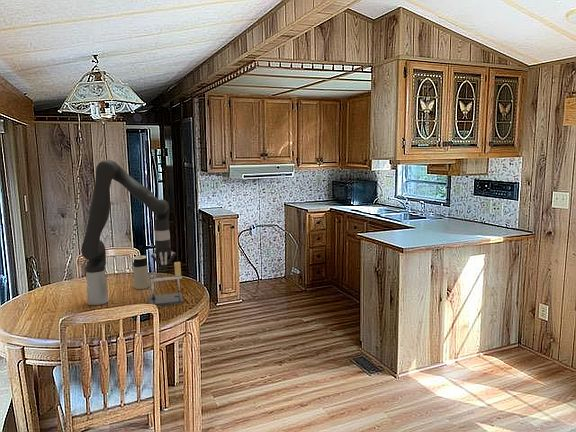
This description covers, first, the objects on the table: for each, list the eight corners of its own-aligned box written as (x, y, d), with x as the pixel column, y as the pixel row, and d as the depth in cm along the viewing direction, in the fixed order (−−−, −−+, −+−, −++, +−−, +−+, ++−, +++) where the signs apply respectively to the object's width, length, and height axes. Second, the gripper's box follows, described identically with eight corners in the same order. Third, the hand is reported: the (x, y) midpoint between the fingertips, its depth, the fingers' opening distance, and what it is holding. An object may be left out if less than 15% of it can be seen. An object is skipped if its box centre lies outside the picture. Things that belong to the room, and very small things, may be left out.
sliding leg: (176, 297, 233) (174, 264, 230) (176, 294, 236) (174, 262, 234) (182, 296, 233) (180, 263, 231) (182, 294, 237) (180, 261, 235)
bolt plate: (148, 307, 224) (146, 279, 222) (149, 298, 238) (147, 272, 236) (183, 303, 229) (182, 276, 227) (182, 295, 242) (181, 269, 240)
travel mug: (141, 290, 253) (138, 259, 250) (131, 288, 257) (129, 257, 255) (152, 286, 260) (149, 256, 257) (142, 284, 264) (140, 254, 261)
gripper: (148, 240, 223) (151, 274, 226) (175, 239, 227) (177, 272, 229) (149, 238, 231) (151, 270, 233) (175, 236, 234) (177, 268, 237)
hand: (164, 271), depth 231 cm, fingers closed
